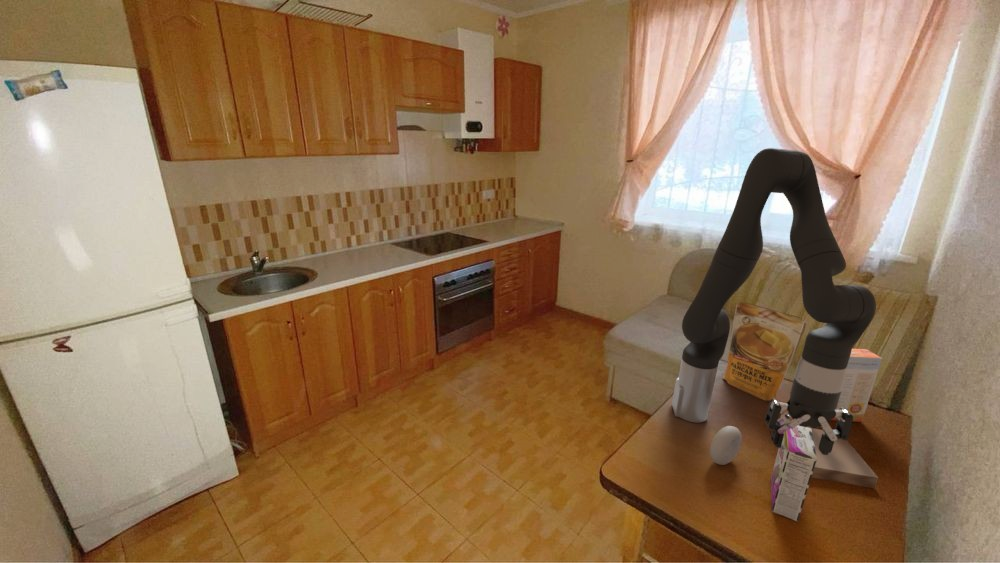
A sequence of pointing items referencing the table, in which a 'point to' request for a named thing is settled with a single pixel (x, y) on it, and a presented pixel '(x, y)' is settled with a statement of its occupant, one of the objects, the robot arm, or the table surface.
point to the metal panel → (841, 464)
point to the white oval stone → (725, 445)
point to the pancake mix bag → (761, 349)
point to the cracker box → (859, 382)
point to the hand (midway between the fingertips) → (799, 448)
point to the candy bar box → (793, 472)
